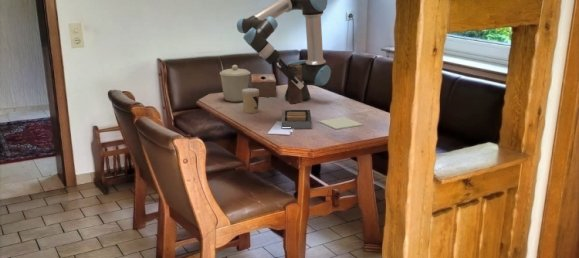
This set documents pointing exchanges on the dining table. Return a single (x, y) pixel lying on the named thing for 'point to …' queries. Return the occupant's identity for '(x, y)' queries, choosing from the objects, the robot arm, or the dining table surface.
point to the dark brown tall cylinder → (293, 91)
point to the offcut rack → (296, 124)
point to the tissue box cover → (264, 84)
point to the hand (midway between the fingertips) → (302, 85)
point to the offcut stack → (296, 116)
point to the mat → (340, 123)
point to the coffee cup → (250, 100)
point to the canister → (234, 83)
